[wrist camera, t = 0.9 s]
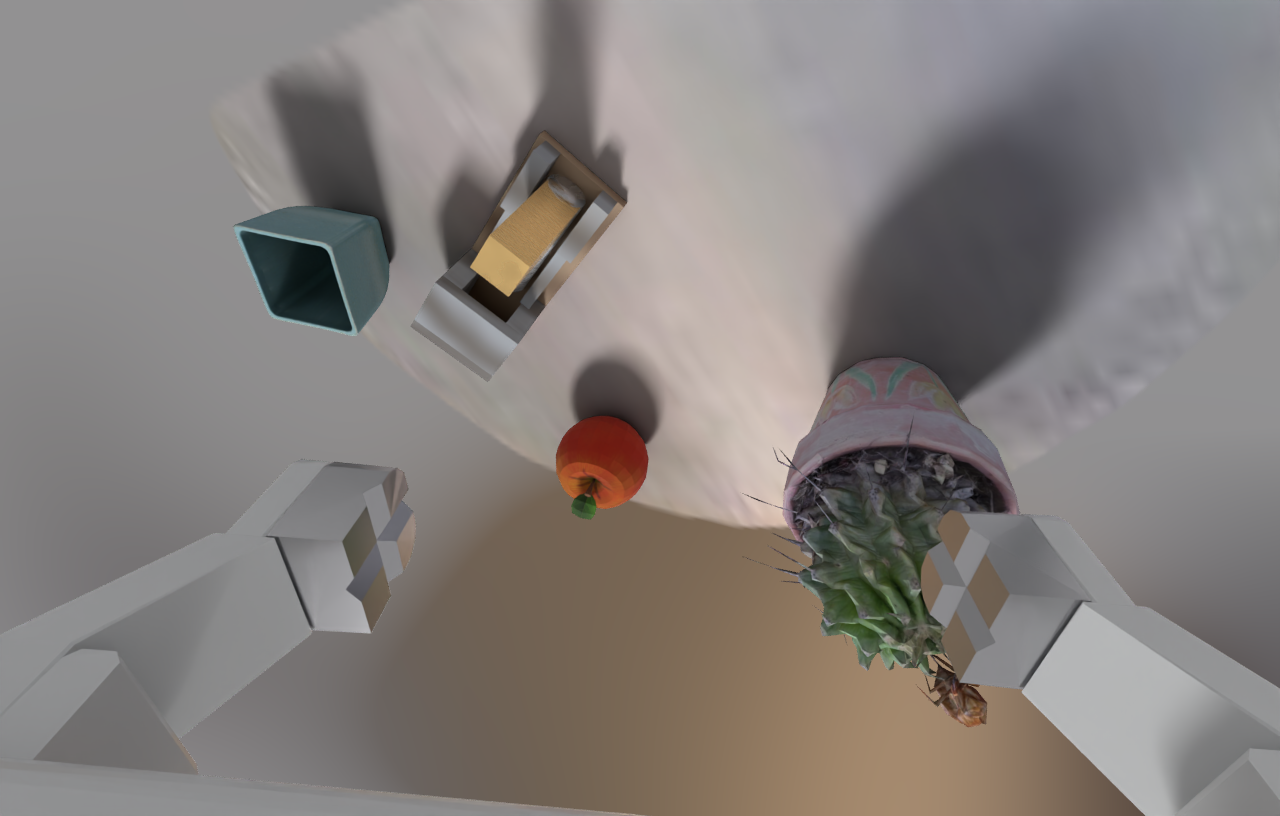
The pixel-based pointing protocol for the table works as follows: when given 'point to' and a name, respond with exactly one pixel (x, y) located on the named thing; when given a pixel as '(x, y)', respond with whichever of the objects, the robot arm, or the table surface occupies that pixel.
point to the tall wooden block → (529, 235)
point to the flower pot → (317, 266)
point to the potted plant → (889, 511)
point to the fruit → (601, 464)
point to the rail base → (493, 322)
